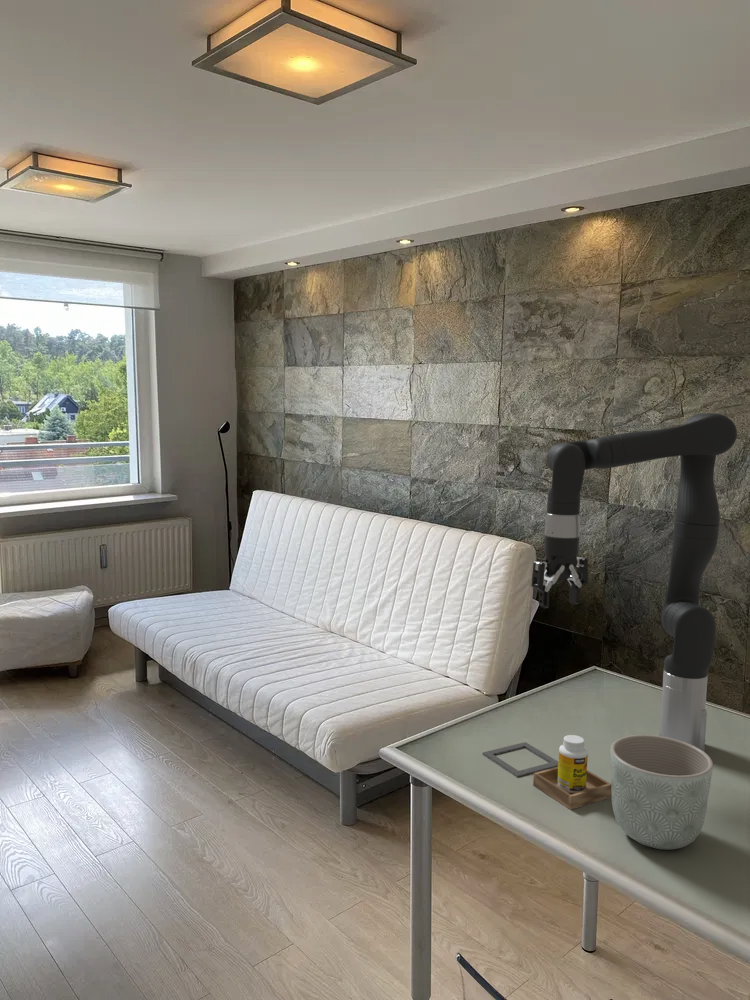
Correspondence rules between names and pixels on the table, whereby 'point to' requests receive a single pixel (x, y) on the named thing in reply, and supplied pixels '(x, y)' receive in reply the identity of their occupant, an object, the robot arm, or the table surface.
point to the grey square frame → (517, 773)
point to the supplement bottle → (572, 764)
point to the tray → (592, 793)
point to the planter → (659, 789)
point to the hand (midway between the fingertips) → (559, 605)
